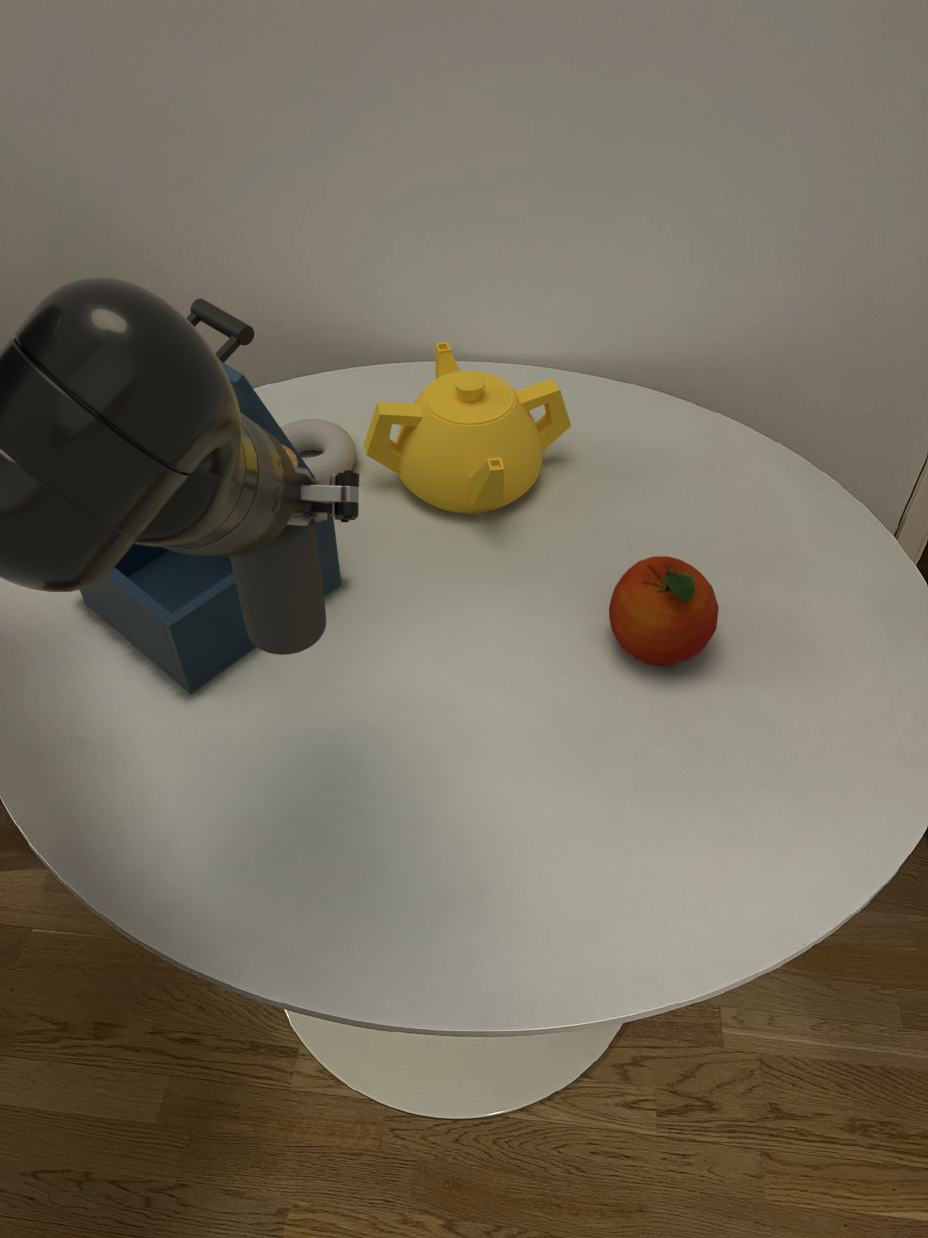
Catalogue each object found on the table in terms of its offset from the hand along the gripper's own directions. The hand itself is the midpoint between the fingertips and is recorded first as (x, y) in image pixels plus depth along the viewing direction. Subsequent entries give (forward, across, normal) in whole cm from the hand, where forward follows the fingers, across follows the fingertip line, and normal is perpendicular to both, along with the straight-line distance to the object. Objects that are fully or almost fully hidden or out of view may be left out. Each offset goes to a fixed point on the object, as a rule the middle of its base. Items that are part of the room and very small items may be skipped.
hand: (272, 503), depth 67 cm
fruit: (+25, -30, +10) cm, 41 cm away
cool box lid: (+18, +8, -8) cm, 21 cm away
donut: (+42, +4, -7) cm, 43 cm away
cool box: (+28, +11, +7) cm, 31 cm away
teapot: (+41, -13, -6) cm, 44 cm away
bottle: (+6, 0, +9) cm, 11 cm away
